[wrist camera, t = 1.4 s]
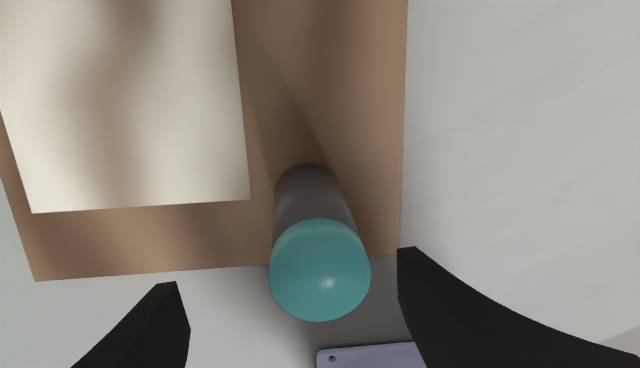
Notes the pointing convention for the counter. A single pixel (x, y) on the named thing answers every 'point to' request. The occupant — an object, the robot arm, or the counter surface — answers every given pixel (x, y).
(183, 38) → the drawing board
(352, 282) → the marker
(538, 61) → the counter surface
